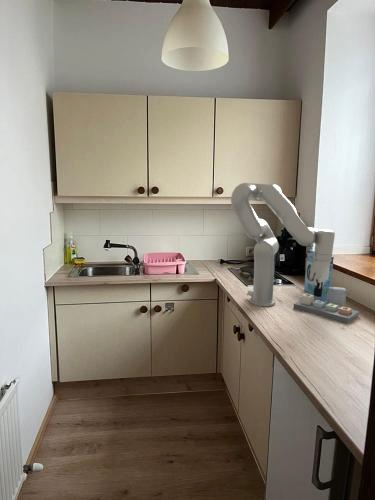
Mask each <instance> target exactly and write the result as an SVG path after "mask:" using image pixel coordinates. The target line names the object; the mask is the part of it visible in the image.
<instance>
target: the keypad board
mask: <svg viewBox="0 0 375 500" xmlns="http://www.w3.org/2000/svg"><path fill="white" fill-rule="evenodd" d="M315 301H316V300H315V299H314V302H315ZM301 302H302V299H301V300H299V301H297V302H294V303H293V307H292V308H293V310H295V311H299V312H304V313H306V314H311V315H315V316H317V317H321V318H325V319H328V320H332V321H336V322H340V323H343V324H347V325H350V324H351V323H352V322H354V321H355V320H356V319H358V318H359V317H360V311H358V310H354V309H352V313H351V314H350V315H345V314H341V313H339V308H341V307H339V306H338V310H337V311H336V312H334V311H330V310H326V306H325V307H324V308H318V307H314V306H313V304H311V305H307V304H303V303H301ZM326 305H327V302H326Z"/></svg>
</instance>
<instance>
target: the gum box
mask: <svg viewBox="0 0 375 500" xmlns="http://www.w3.org/2000/svg"><path fill="white" fill-rule="evenodd" d="M314 250H315V249H307V253H306V263H305V266H306V267H305V276H304V285H303V286H304V287H303V290H304V291H305V292H307V294H311V295H313V294H314V285H313V281H310V273H311V268H312V264H313V261H314V260H313V258H314ZM334 259H335V258H334V256H332V259H331V262H330V270H329V277H328V280H326V281H325V282H324V285H323V290H322V296H321V297H317V296H314V298H315V299H317V300H318V301H323V302H327V291H328V287H332V278H333V277H332V276H333V267H334Z"/></svg>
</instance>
